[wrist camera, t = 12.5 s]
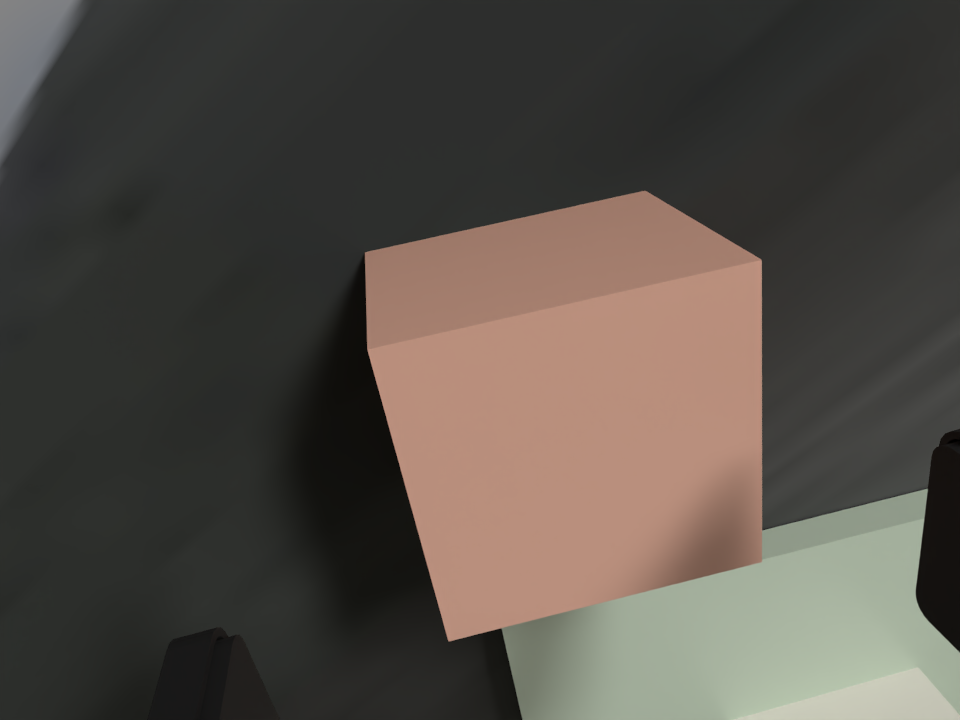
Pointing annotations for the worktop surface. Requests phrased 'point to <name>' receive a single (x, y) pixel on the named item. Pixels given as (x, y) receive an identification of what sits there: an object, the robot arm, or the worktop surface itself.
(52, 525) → the worktop surface
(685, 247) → the coral brick
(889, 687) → the cream brick
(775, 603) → the base plate
